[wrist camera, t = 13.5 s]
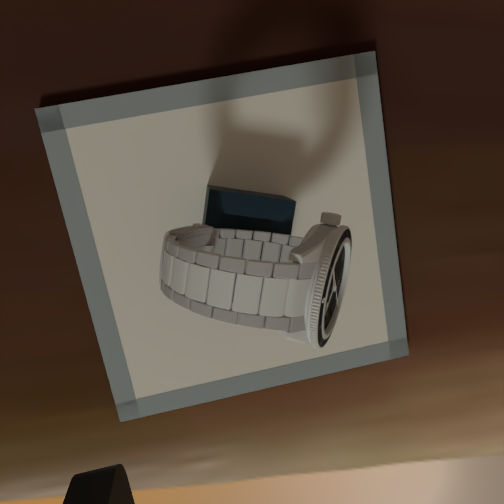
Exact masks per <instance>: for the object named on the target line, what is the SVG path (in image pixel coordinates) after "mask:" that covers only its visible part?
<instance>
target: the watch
mask: <svg viewBox="0 0 504 504" xmlns="http://www.w3.org/2000/svg"><path fill="white" fill-rule="evenodd" d="M295 207H296V201H295V200H293V199H290V198H288V197H286V196H283V195H276V194H268V193H261V192H254V191H247V190H240V189H233V188H226V187H219V186H212V185H207V190H206V198H205V205H204V213H203V221H202V224H200V223H194V224H193V226H186V227H181V228H176V229H173V230H170V231H168V232H166V233H165V236H164V241H163V246H162V252H161V260H160V272H159V283H160V284H161V287H160V288H161V291H162V292H163V294H164V295H165V296H166V297H167V298H168V299H170V300H171V301H173V302H174V303H176V304H177V305H179V306H181V307H183V308H185V309H187V310H190V311H191V312H193V313H195V314H198V315H200V316H203V317H206V318H212V319H214V320H217V321H221V322H224V323H228V324H232V325H237V321H238V325H239V326H244V327H250V328H256V329H263V327H264V329H267V330H275V331H276V337H280V338H283V339H287V340H292V341H296V342H302V343H305V344H309V345H312V347H313V348H316V349H322V348H323V347H324V346H325V344H326V343H327V341H328V340H329V338H330V336H331V333H332V331H333V329H334V326H335V323H336V320H337V317H338V314H339V311H340V308H341V305H342V301H343V297H344V293H345V289H346V284H347V279H348V274H349V267H350V260H351V249H352V237H351V231H350V228H349V227H348V226H344V225H341V226H339V227H338V225H340V222H341V215H339V214H335V213H330V212H322V213H321V219H320V222H321V223H320V224H316V225H314V226H312V227H311V228H310V229H309V231H308V232H307V234H306V235H305V237H304V238H302V237H296V236H291V231H292V225H293V219H294V213H295ZM322 223H324V224H322ZM232 302H233V303H232ZM231 307H232V308H231ZM258 309H259V310H258ZM238 314H239V318H238ZM264 320H265V321H264Z"/></svg>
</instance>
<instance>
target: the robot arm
mask: <svg viewBox="0 0 504 504" xmlns="http://www.w3.org/2000/svg"><path fill="white" fill-rule="evenodd" d="M63 504H135V503H134V499H133V496H132V492H131V488H130V485H129V481H128V478H127V474H126V471H125V469H124V467H123V466H122V464H117V465H112V466H108V467H104V468H100V469H96V470H92V471H88V472H84V473H80V474H76V475H74V476H73V478H72V480H71V482H70V485H69V488H68V490H67V493H66V496H65V499H64V502H63Z"/></svg>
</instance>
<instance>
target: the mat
mask: <svg viewBox="0 0 504 504" xmlns="http://www.w3.org/2000/svg"><path fill="white" fill-rule="evenodd" d="M35 112H36V116H37V120H38V123H39V127H40V131H41V134H42V138H43V141H44V145H45V149H46V152H47V156H48V160H49V163H50V167H51V171H52V174H53V178H54V182H55V185H56V189H57V193H58V196H59V200H60V204H61V207H62V211H63V214H64V218H65V222H66V225H67V229H68V233H69V236H70V240H71V244H72V247H73V251H74V255H75V258H76V262H77V266H78V269H79V273H80V276H81V280H82V284H83V287H84V291H85V295H86V298H87V302H88V306H89V309H90V313H91V317H92V320H93V324H94V328H95V331H96V335H97V339H98V342H99V346H100V349H101V353H102V357H103V360H104V364H105V368H106V371H107V375H108V379H109V382H110V386H111V390H112V393H113V397H114V401H115V404H116V408H117V412H118V415H119V419H120V422H123V421H127V420H132V419H136V418H140V417H144V416H149V415H153V414H157V413H162V412H166V411H170V410H175V409H179V408H183V407H187V406H192V405H196V404H200V403H205V402H209V401H213V400H218V399H222V398H226V397H230V396H235V395H239V394H243V393H248V392H252V391H256V390H261V389H265V388H269V387H273V386H278V385H282V384H286V383H291V382H295V381H299V380H304V379H308V378H312V377H316V376H321V375H325V374H329V373H334V372H338V371H342V370H347V369H351V368H355V367H359V366H364V365H368V364H372V363H377V362H381V361H385V360H390V359H394V358H398V357H402V356H407V355H409V351H408V342H407V333H406V324H405V315H404V306H403V297H402V288H401V279H400V270H399V261H398V252H397V244H396V235H395V226H394V217H393V208H392V199H391V190H390V181H389V172H388V163H387V154H386V145H385V136H384V127H383V118H382V109H381V100H380V91H379V82H378V73H377V64H376V55H375V51H370V52H365V53H359V54H353V55H347V56H341V57H335V58H329V59H324V60H318V61H312V62H306V63H300V64H294V65H288V66H283V67H277V68H271V69H265V70H259V71H253V72H247V73H242V74H236V75H230V76H224V77H218V78H212V79H206V80H201V81H195V82H189V83H183V84H177V85H171V86H165V87H160V88H154V89H148V90H142V91H136V92H130V93H124V94H119V95H113V96H107V97H101V98H95V99H89V100H83V101H78V102H72V103H66V104H60V105H54V106H48V107H42V108H37V109H35ZM207 185H212V186H219V187H226V188H233V189H240V190H247V191H254V192H261V193H268V194H276V195H283V196H286V197H288V198H290V199H293V200H295V201H296V207H295V213H294V219H293V225H292V231H291V236H296V237H302V238H304V237H305V235H306V234H307V232H308V231H309V229H310V228H311V227H312V226H314V225H316V224H320V223H321V222H320V219H321V213H322V212H330V213H335V214H339V215H341V222H340V225H338V227H339V226H341V225H344V226H348V227H349V228H350V231H351V237H352V249H351V260H350V267H349V274H348V279H347V284H346V289H345V293H344V297H343V301H342V305H341V308H340V311H339V314H338V317H337V320H336V323H335V326H334V329H333V331H332V333H331V336H330V338H329V340H328V341H327V343H326V344H325V346H324V347H323V348H322V349H316V348H313V347H312V345H309V344H305V343H302V342H296V341H292V340H287V339H283V338H280V337H276V331H275V330H267V329H264V327H263V329H256V328H250V327H244V326H239V325H238V321H237V325H232V324H228V323H224V322H221V321H217V320H214V319H212V318H206V317H203V316H200V315H198V314H195V313H193V312H191V311H190V310H187V309H185V308H183V307H181V306H179V305H177V304H176V303H174V302H173V301H171V300H170V299H168V298H167V297H166V296H165V295H164V294H163V292H162V291H161V288H160V287H161V284H160V283H159V272H160V260H161V252H162V246H163V241H164V236H165V233H166V232H168V231H170V230H173V229H176V228H181V227H186V226H193V224H194V223H200V224H202V221H203V213H204V205H205V198H206V190H207ZM322 224H324V223H322ZM232 303H233V302H232ZM231 308H232V307H231ZM258 310H259V309H258ZM238 318H239V314H238ZM264 321H265V320H264Z"/></svg>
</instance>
